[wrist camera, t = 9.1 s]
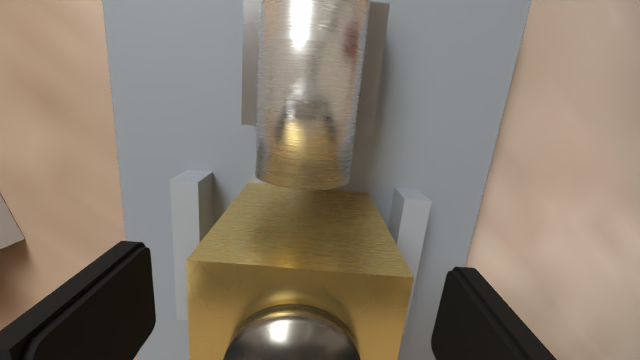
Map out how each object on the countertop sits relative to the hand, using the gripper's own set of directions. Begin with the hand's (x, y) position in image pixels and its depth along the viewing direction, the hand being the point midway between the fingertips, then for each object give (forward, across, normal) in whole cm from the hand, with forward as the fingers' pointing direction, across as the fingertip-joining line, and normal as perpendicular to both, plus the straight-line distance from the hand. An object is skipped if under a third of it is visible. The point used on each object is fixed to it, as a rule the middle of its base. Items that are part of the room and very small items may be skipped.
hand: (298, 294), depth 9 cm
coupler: (+4, 0, 0) cm, 4 cm away
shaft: (+5, 0, -7) cm, 9 cm away
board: (+5, 0, 0) cm, 5 cm away
